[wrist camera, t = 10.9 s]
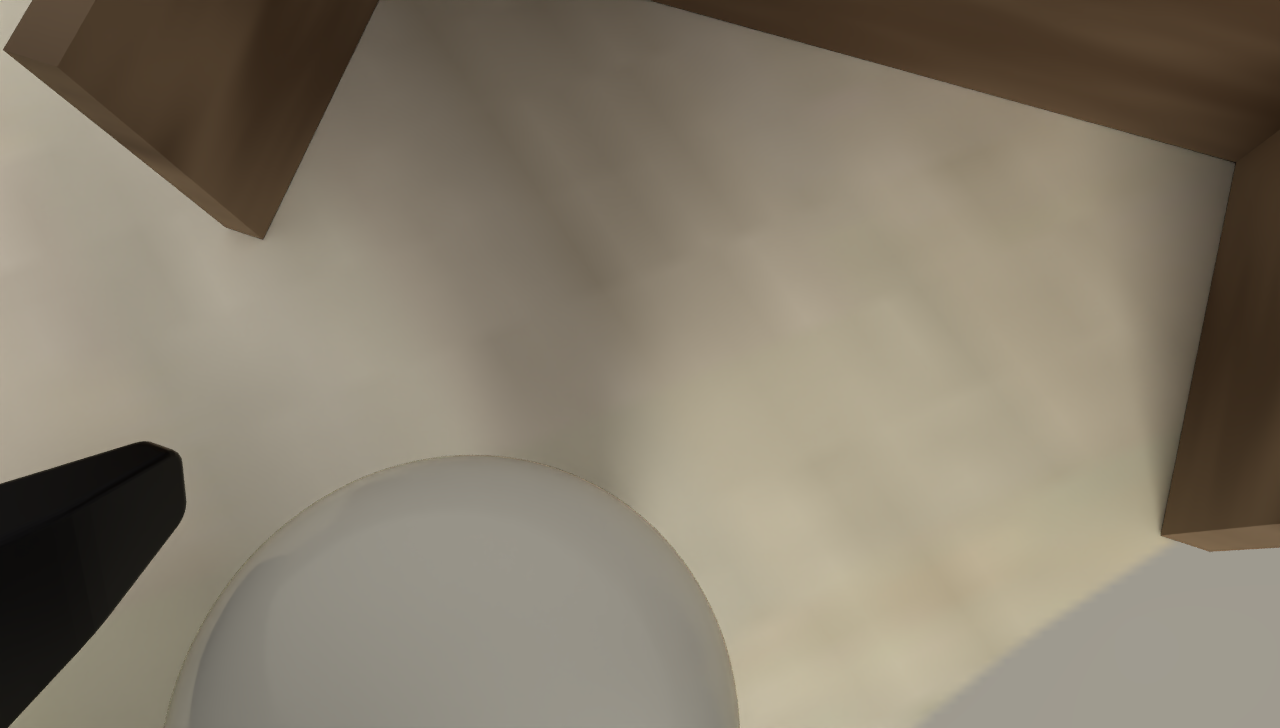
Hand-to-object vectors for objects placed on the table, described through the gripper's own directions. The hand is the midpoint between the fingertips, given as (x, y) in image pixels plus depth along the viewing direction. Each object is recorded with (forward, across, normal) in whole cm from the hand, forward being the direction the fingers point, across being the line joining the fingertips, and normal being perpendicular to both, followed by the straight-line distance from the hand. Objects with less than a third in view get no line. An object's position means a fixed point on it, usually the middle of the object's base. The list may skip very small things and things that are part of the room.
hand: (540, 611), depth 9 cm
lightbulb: (+5, 0, +8) cm, 9 cm away
